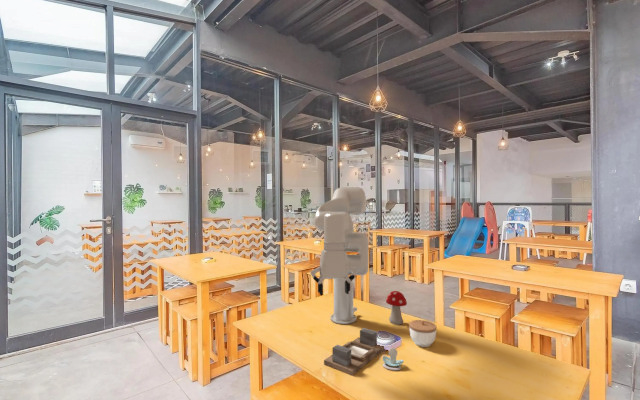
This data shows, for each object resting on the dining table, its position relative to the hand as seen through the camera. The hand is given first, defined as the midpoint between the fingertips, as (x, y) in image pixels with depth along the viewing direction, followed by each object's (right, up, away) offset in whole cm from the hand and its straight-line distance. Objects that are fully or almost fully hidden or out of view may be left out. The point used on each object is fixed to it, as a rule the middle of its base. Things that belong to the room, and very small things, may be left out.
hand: (333, 293), depth 122 cm
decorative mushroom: (+31, -24, +37) cm, 54 cm away
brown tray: (+8, -25, +4) cm, 26 cm away
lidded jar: (+37, -25, +15) cm, 47 cm away
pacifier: (+21, -25, -3) cm, 33 cm away
